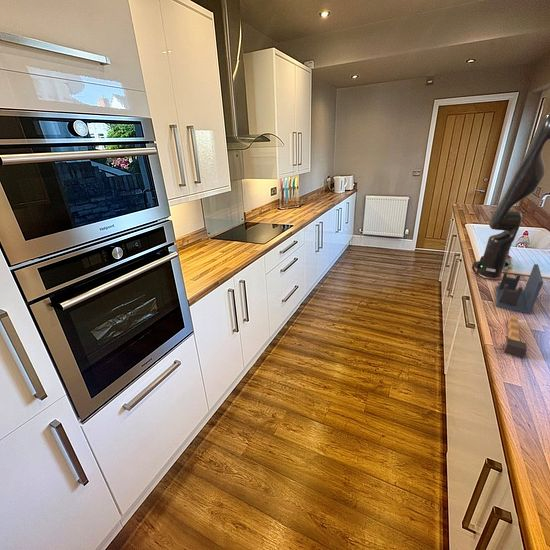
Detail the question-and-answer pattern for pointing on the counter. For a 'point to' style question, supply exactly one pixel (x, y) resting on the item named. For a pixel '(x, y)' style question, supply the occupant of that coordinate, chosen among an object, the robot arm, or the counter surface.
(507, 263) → the knee model
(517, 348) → the brush
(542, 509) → the counter surface
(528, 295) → the rack
